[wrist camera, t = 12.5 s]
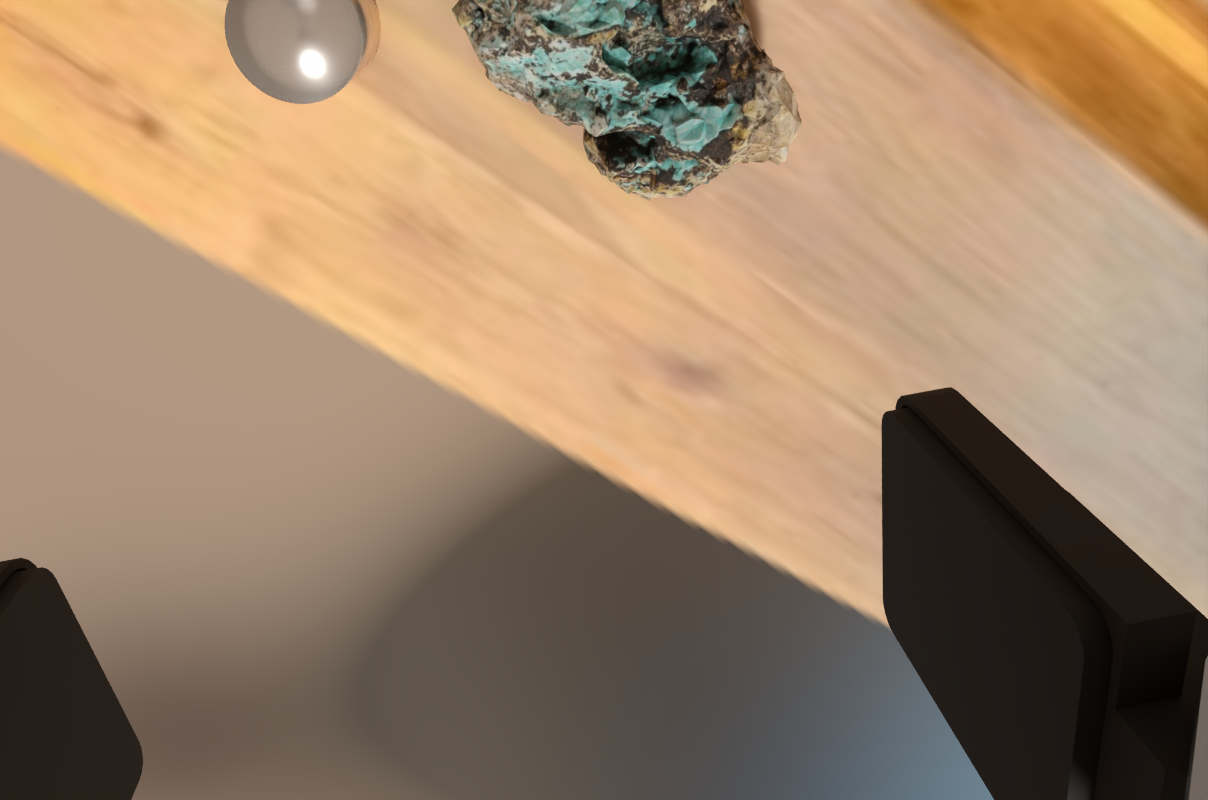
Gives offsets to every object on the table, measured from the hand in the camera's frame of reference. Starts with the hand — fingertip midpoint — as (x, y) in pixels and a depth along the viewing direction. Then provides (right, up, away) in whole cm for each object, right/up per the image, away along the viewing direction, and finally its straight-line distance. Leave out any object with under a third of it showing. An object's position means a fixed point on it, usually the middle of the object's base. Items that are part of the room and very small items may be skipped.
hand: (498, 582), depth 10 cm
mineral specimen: (+2, +16, +25) cm, 29 cm away
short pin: (-9, +16, +23) cm, 29 cm away
